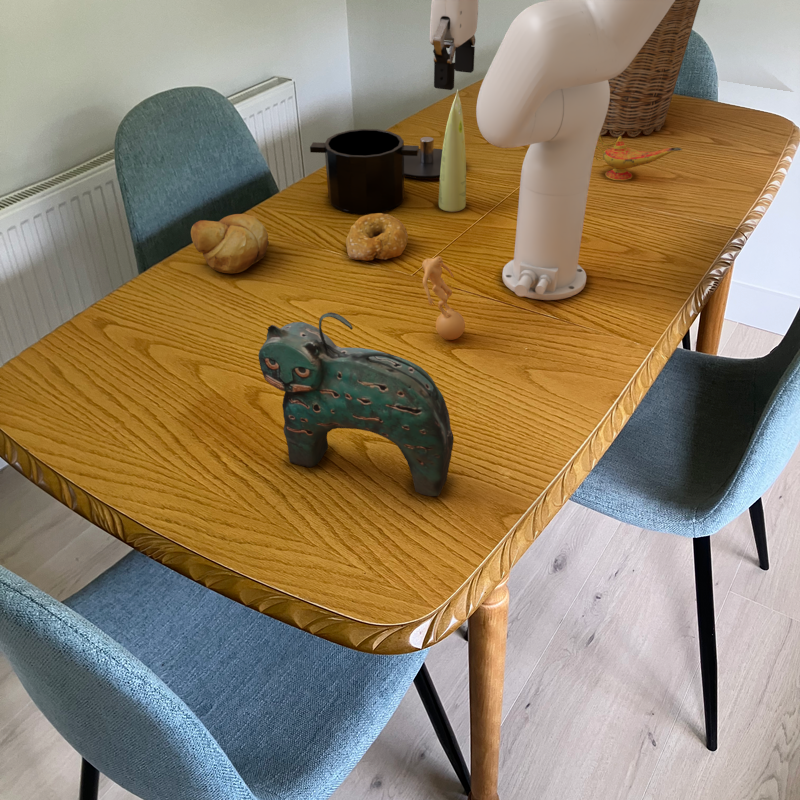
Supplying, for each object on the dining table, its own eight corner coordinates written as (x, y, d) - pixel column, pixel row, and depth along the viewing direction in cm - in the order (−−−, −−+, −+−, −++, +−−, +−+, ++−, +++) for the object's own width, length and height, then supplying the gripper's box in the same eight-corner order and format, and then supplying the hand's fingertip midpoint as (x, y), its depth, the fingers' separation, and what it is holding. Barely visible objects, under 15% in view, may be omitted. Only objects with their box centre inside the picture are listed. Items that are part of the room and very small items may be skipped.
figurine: (453, 356, 102) (456, 276, 94) (411, 347, 104) (410, 268, 96) (473, 324, 108) (476, 247, 100) (433, 316, 110) (433, 239, 102)
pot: (413, 216, 136) (413, 158, 129) (307, 212, 138) (302, 154, 131) (422, 185, 146) (422, 130, 140) (323, 182, 149) (319, 127, 142)
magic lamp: (671, 191, 143) (684, 131, 136) (576, 175, 149) (584, 118, 142) (678, 177, 147) (691, 119, 141) (586, 163, 154) (594, 107, 147)
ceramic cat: (271, 465, 86) (246, 312, 73) (297, 430, 90) (278, 280, 78) (440, 510, 80) (443, 352, 68) (458, 470, 85) (465, 315, 72)
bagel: (331, 252, 126) (329, 225, 123) (377, 229, 132) (377, 203, 129) (374, 271, 120) (373, 244, 117) (421, 247, 127) (421, 220, 124)
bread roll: (244, 237, 130) (237, 192, 125) (289, 250, 126) (284, 204, 121) (191, 269, 122) (181, 222, 117) (238, 284, 118) (230, 236, 113)
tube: (473, 209, 138) (478, 97, 126) (450, 216, 136) (453, 103, 124) (454, 198, 142) (457, 88, 129) (432, 205, 139) (433, 94, 127)
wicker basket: (717, 148, 159) (761, -34, 138) (547, 150, 160) (566, -31, 139) (672, 96, 186) (703, -62, 166) (527, 98, 187) (540, -59, 167)
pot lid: (461, 183, 147) (462, 154, 144) (384, 180, 149) (383, 151, 145) (466, 154, 159) (467, 127, 155) (395, 152, 160) (394, 125, 157)
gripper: (453, -51, 122) (450, 63, 133) (413, -31, 109) (413, 93, 120) (499, -48, 120) (492, 67, 130) (463, -28, 107) (458, 98, 118)
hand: (454, 79), depth 125 cm, fingers open, 9 cm apart
